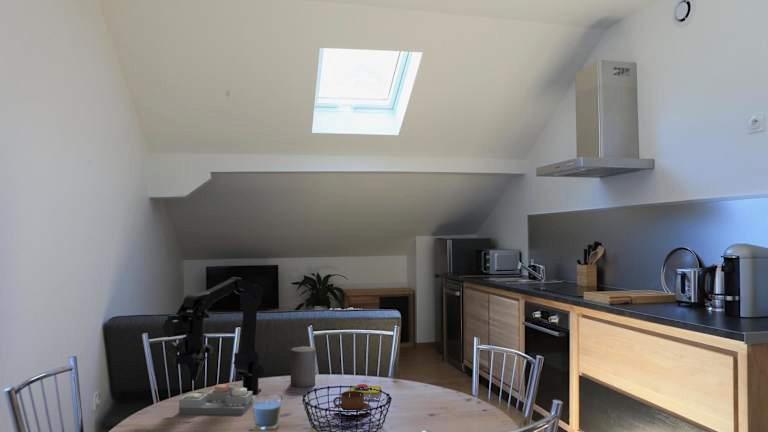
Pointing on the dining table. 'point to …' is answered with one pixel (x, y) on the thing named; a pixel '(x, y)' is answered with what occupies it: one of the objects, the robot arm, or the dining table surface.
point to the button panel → (216, 403)
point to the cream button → (239, 391)
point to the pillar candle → (302, 366)
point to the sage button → (194, 396)
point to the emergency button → (367, 390)
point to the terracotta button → (221, 388)
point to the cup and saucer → (352, 401)
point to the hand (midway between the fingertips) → (194, 380)
